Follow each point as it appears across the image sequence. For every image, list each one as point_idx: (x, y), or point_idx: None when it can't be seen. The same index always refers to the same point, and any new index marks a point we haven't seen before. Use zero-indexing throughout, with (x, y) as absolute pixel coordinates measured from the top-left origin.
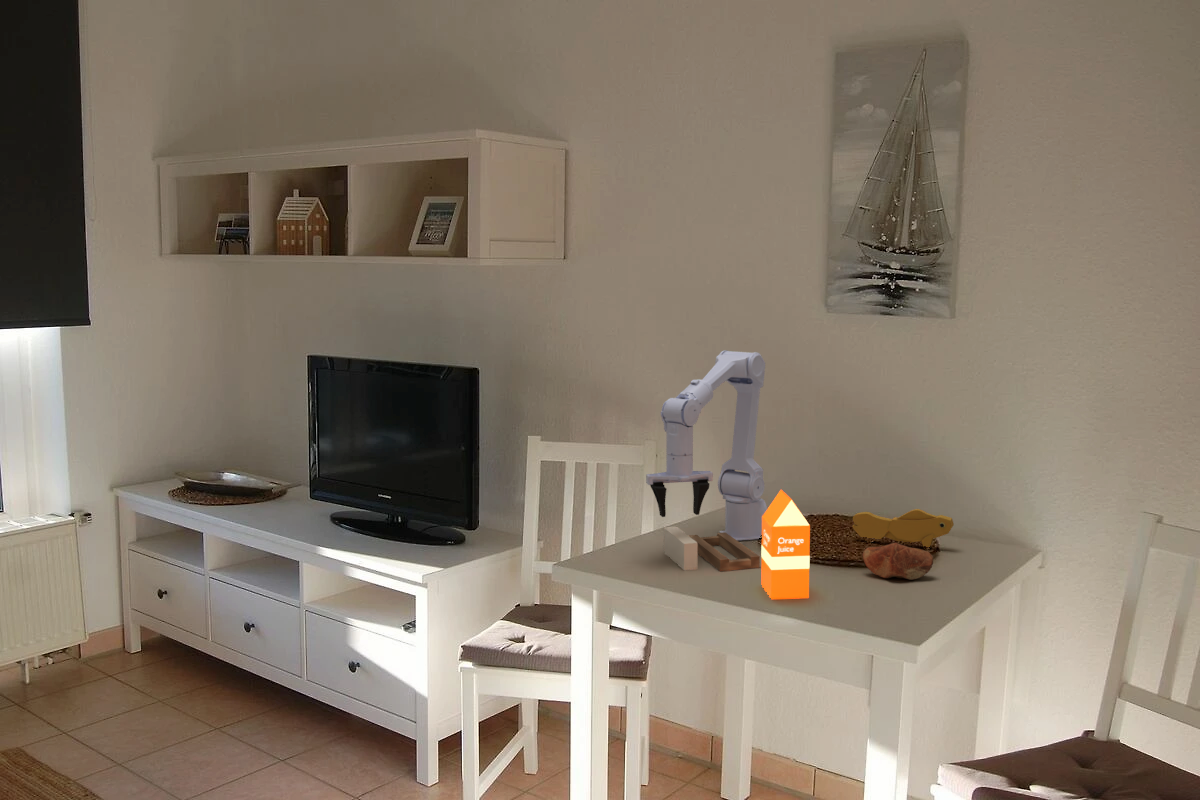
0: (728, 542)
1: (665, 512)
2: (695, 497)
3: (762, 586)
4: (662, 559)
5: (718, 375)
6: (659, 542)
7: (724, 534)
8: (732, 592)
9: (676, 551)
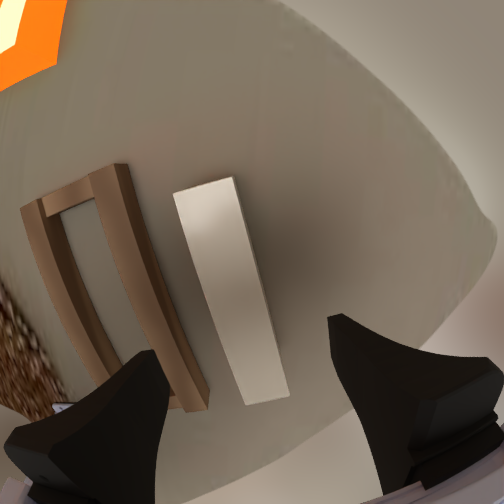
0: (99, 353)
1: (335, 322)
2: (140, 434)
3: (56, 53)
4: (290, 287)
5: None
6: (279, 413)
7: None
8: (130, 5)
9: (254, 256)
